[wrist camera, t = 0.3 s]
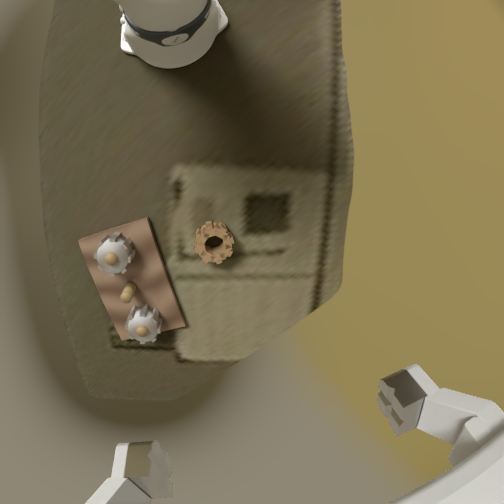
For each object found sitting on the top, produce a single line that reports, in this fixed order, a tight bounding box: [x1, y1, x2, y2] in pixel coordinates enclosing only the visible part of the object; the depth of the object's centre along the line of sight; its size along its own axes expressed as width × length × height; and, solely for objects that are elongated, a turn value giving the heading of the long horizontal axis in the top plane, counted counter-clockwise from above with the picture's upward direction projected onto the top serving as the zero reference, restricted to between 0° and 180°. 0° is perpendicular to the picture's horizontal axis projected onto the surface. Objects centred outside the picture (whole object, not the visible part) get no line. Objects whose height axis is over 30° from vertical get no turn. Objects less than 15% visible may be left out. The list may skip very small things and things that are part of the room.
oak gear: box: [194, 221, 234, 264], centre depth 53 cm, size 7×7×4 cm
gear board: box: [78, 217, 186, 344], centre depth 52 cm, size 22×14×6 cm, turn 13°
